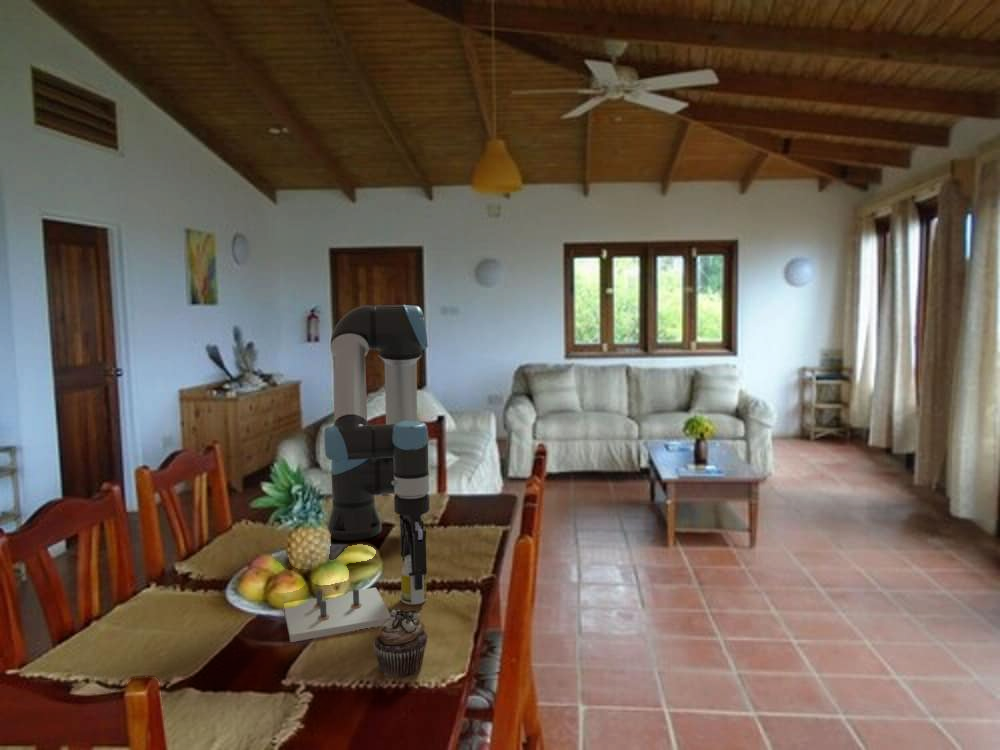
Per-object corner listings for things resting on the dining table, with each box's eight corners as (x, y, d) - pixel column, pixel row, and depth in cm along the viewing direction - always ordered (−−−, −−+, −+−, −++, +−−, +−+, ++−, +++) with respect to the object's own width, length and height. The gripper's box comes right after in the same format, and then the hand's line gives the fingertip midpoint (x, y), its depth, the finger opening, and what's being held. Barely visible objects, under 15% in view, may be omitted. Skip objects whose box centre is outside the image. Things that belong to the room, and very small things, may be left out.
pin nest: (283, 608, 154) (282, 586, 153) (376, 593, 161) (375, 572, 161) (290, 642, 139) (289, 617, 139) (392, 624, 146) (391, 600, 146)
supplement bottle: (422, 606, 154) (421, 562, 153) (398, 604, 155) (397, 561, 154) (429, 596, 159) (428, 553, 158) (406, 594, 161) (405, 552, 159)
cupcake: (379, 652, 135) (378, 601, 134) (430, 653, 135) (429, 602, 133) (368, 680, 125) (367, 625, 124) (423, 680, 125) (422, 626, 124)
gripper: (385, 484, 162) (388, 583, 164) (405, 507, 145) (407, 617, 147) (417, 481, 164) (419, 578, 167) (440, 503, 147) (442, 611, 150)
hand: (414, 596), depth 157 cm, fingers closed on supplement bottle, 5 cm apart
